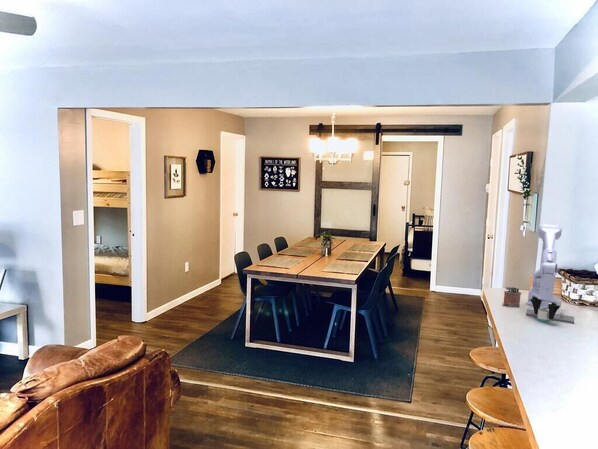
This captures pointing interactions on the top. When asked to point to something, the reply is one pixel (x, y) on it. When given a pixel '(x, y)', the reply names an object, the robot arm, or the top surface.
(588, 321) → the top surface
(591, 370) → the top surface
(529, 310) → the pin board
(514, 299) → the lighter
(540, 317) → the sleeve
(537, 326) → the top surface
